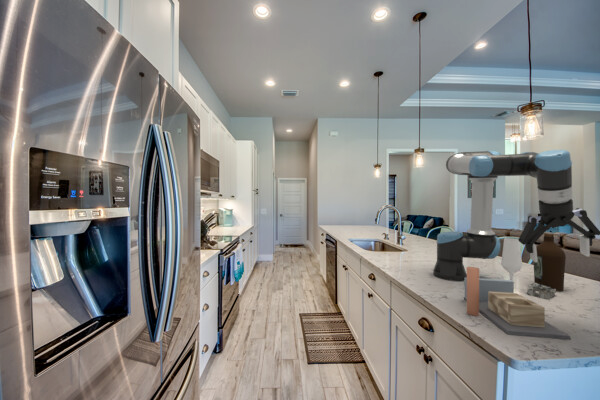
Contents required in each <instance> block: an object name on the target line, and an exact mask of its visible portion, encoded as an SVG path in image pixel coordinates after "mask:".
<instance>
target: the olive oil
mask: <svg viewBox="0 0 600 400" xmlns="http://www.w3.org/2000/svg"><path fill="white" fill-rule="evenodd" d="M536 249H537V261H538V262H534V261H533V260H532V262H533V263H532V264H533V278H534V279H533V280H534V283H537V284H540V285H543V286H547V287H550V288H551V289H556V291H555V292H563V291H564V289H565V270H566V260H567V259H566V257H567V256H566V253H565V251H564V249H562V247H560V246H559V245H558V244H557V243H555V237H554V233H550V232H548V233H547V232H544V233H543V241H542V242H541V243H540V244H538V245H536ZM534 283H533V284H534Z"/></svg>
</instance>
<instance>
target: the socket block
mask: <svg viewBox="0 0 600 400" xmlns="http://www.w3.org/2000/svg"><path fill="white" fill-rule="evenodd" d="M488 308H489V309H490V310H491V311H493V312H494V313H496V314H497V315H498V316H500V317H501V318H503V319H504V320H505V321H507V322H508V323H510V324H511V325H520V326H532V327H545V322H546V320H545V319H546V318H545V316H546V314H545V312H546V311H545V310H546V309H545V307H544V306H542V305H540V304H538V303H536V302H534V301H533V300H530V299H529V298H527V297H525V296H523V295H521V294H519V293H517V292H514V293H505V292H488Z"/></svg>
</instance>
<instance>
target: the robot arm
mask: <svg viewBox="0 0 600 400" xmlns="http://www.w3.org/2000/svg"><path fill="white" fill-rule="evenodd" d="M445 162H446V163H445V167H446V170H447V171H448V172H449V173H451V174H453V175H458V176H468V180H469V181H470V182H471V201H470V202H471V204H470V205H471V206H470V207H471V208H470V227H469V229H467V230H466V234H464V233H463V232H462V231H443V232H440V233H438V234H437V236H436V261H435V265H434V267H433V271H432V273H433V276H434V277H435V278H439V279H442V280H446V281H452V282H453V281H454V282H464V278H467V270H466V268H465V266H464V258H466V259H467V258H468V259H482V260H486V259H487V260H491V259H495V258H496V257H497V256H499V254H500V252H501V251H500V250H501V240H500V239H499V237H498V236H496V233H495V231H493V230H492V226H493V225H492V224H493V222H492V221H493V201H494V200H493V199H494V198H493V197H494V183H495V181H496V180H498V177H503V176H504V177H505V176H507V177H510V176H511V177H512V176H513V177H514V176H516V177H517V176H519V177H521V176H525V177H526V176H528V177H532V178H535V179H536V185H537V196H538V197H537V199H538V209H539V215H538V216H537V215H536V216H533V215H528V216H527V222H526V224H525V226H524V228H523V230H522V231H521V233H520V235H519V238H517V239H518V241H519V242H520V244H522V245H524V246H525V249H526V252H527V253H529V258H530V259H531V261H532V262H533V261H534V262H538V261H537V249H536V246H537V245H536V244H535V243H536V242H537V241H538V240H539V239H540V238H541V237H542V236H544V233H546V232H547V231H549V230H550V229H551V228H553V229H554V228H555V229H556V228H558V227H566V225H568V226H570V227H571V228H573V229H574V230H576V231H578V232H579V233H581V234H579V253H580V254H582V255H583V256H585V257H588V258H589V257H591V255H590V253H591V250H590V249H591V248H590V247H592V246H593V240H595V239H596V236H600V229H599V228H598V227H597V226H596V225H595V223H594V222H593V221H592V220H591V219H590V218H589V216H588V212H587V210H586V209H585V210H584V209H582V208H580V207H576V208H575V209H574V203H573V202H574V200H573V185H572V184H573V183H572V182H573V178H572V177H573V174H572V171H573V170H572V168H573V167H572V165H573V162H572V159H571V153H570V152H569V151H568V150H566V149H549V150H545V151H542V152H533V151H532V152H531V151H524V152H521V153H516V154H515V153H513V154H501V153H500V152H499V151H496V150H482V151H463V152H456V153H455V154H452V155H450V156H449V157H448V158H447V160H446V161H445ZM574 216H576V217H578V219H579V220H580V221H581V223H582V224H583V226H585V228H587V229H585V228H583V227H582V226H580V225H579V224H578V223H576V222H574V221H573V220H572V219H573V218H574ZM539 221H540V222H539Z"/></svg>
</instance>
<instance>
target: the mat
mask: <svg viewBox="0 0 600 400" xmlns="http://www.w3.org/2000/svg"><path fill="white" fill-rule="evenodd" d="M463 301H464V302H465V303H467V299H466V298H464V297H463ZM479 314H481V315H483V316H484V317H485V318H486V319H487V320H489V321H490V322H491V323H492V324H494V325H495V326H496V327H497V328H499V329H500V330H502V331H503V332H504V333H505V334H507V335H513V336H524V337H525V336H526V337H536V338H547V339H559V340H571V336H570V335H569V334H568V333H566V332H564V331H562V330H561V329H559V328H557V327H556V326H554V325H552V324H550V323H549V322H547V321H545V327H532V326H520V325H511V324H510V323H508V322H507V321H505V320H504V319H503V318H501V317H500V316H498V315H497V314H496V313H494V312H493V311H491V310H490V309H489V308H488V301H479Z"/></svg>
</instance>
